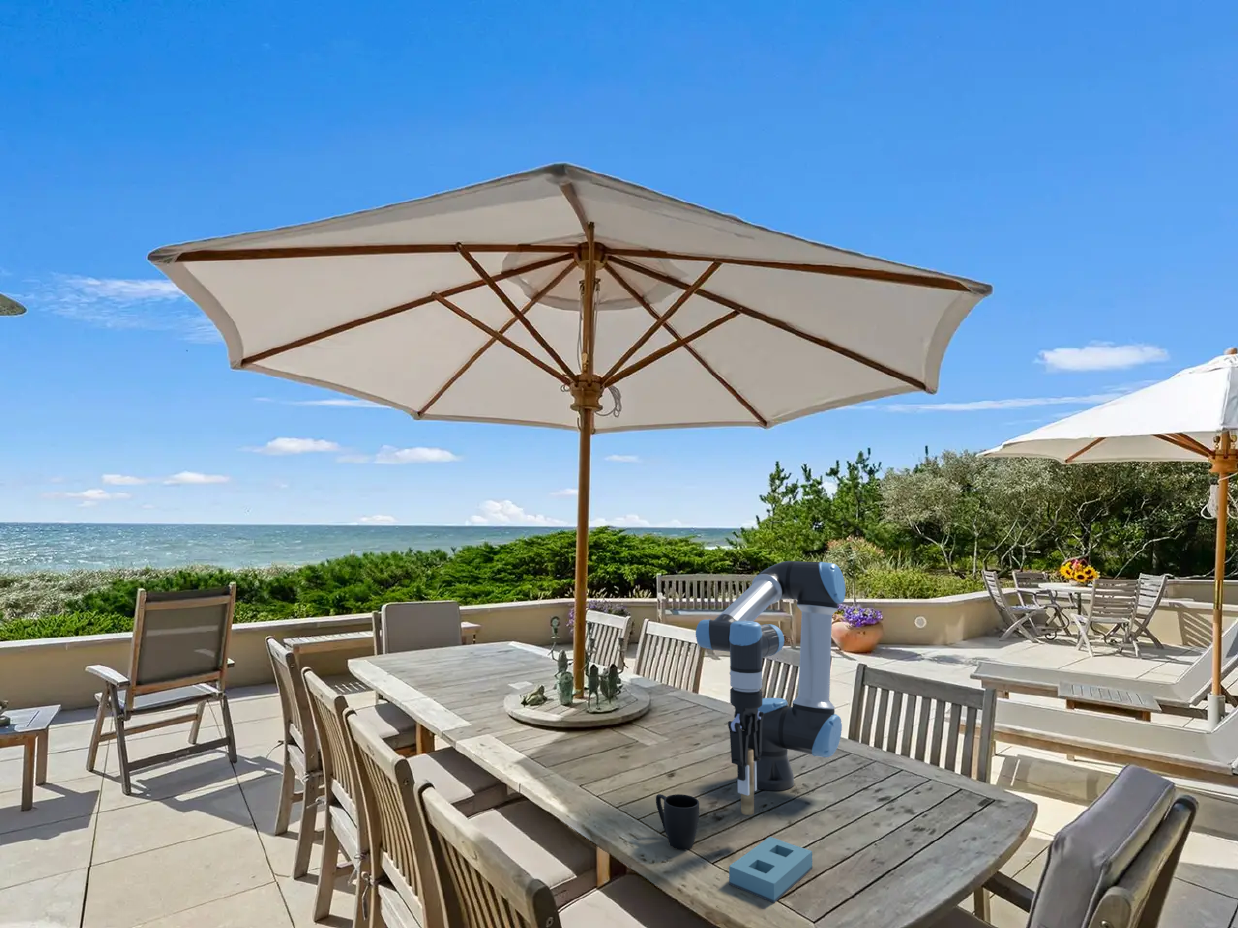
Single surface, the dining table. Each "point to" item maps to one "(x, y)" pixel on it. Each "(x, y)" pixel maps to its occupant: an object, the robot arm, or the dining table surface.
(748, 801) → the dowel
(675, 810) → the mug
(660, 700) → the dining table surface
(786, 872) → the bore slab
